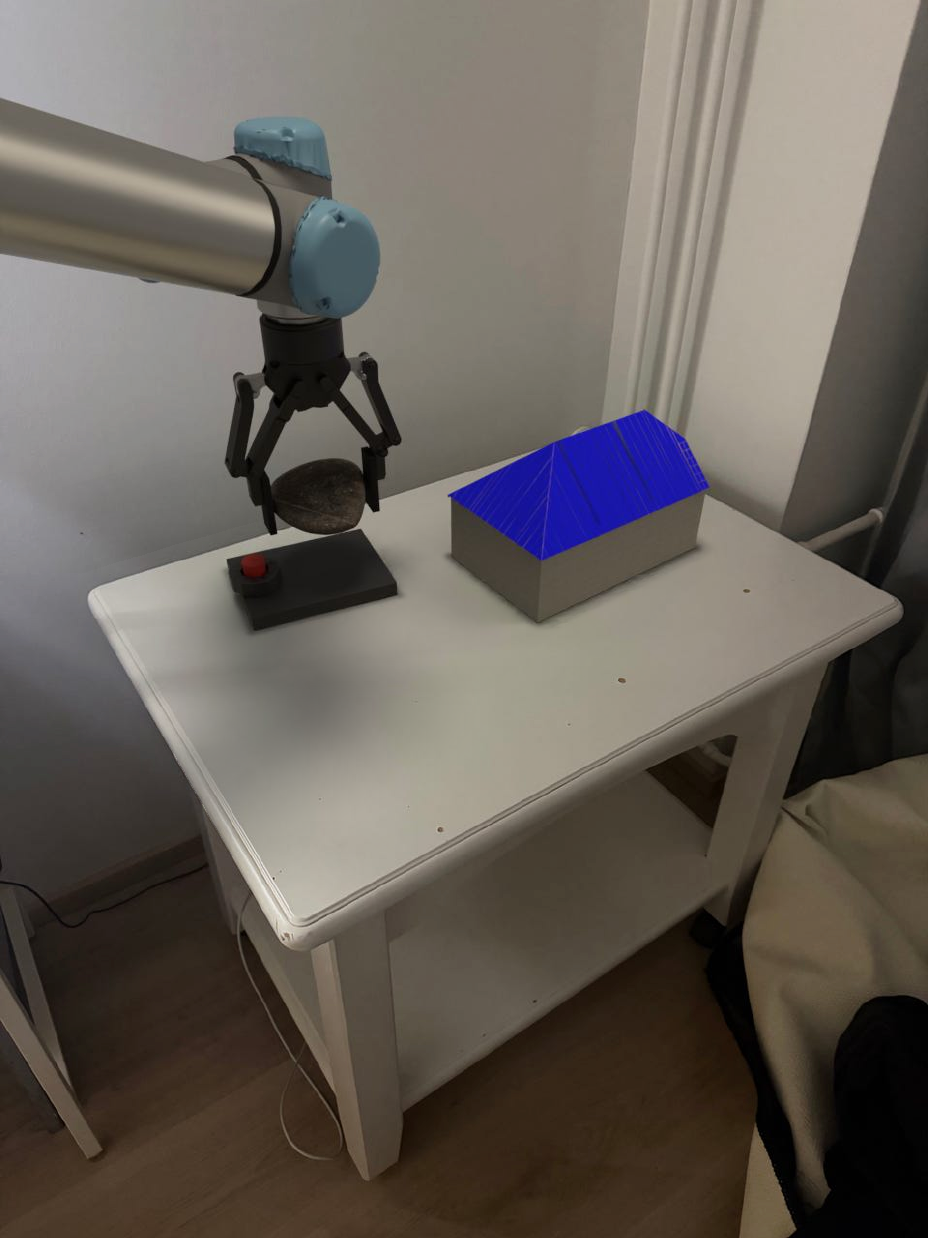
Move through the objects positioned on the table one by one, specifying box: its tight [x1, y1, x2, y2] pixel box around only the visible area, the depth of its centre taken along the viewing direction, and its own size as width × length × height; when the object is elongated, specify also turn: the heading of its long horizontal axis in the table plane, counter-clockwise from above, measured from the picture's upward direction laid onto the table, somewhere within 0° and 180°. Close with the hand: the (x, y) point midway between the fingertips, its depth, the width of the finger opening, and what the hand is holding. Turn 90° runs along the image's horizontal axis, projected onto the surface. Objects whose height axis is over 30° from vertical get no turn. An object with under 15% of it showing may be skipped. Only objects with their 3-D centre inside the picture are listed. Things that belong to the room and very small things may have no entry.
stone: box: [270, 457, 366, 536], centre depth 94 cm, size 11×11×5 cm
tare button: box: [242, 554, 266, 578], centre depth 95 cm, size 2×2×2 cm
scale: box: [226, 528, 398, 632], centre depth 98 cm, size 17×12×4 cm
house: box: [447, 408, 711, 623], centre depth 100 cm, size 25×16×16 cm, turn 126°
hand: (322, 517), depth 95 cm, fingers closed on stone, 11 cm apart
